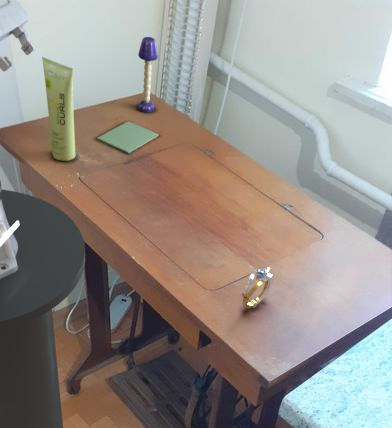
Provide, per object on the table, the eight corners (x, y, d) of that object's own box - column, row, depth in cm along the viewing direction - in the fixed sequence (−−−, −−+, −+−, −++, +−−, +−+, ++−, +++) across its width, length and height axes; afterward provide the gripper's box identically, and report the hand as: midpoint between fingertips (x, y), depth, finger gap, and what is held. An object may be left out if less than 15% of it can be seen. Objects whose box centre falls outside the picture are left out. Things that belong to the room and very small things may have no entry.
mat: (128, 153, 123) (128, 152, 122) (97, 139, 125) (97, 137, 125) (158, 135, 130) (158, 134, 130) (128, 122, 133) (128, 121, 132)
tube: (49, 161, 116) (41, 66, 102) (49, 149, 119) (42, 55, 105) (76, 162, 117) (72, 68, 103) (75, 150, 121) (71, 57, 106)
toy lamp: (152, 114, 137) (157, 43, 125) (134, 111, 137) (137, 40, 124) (155, 106, 140) (160, 36, 128) (137, 103, 140) (141, 33, 128)
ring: (259, 293, 96) (270, 258, 90) (272, 303, 95) (284, 268, 89) (232, 308, 93) (240, 272, 87) (244, 319, 91) (254, 284, 86)
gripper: (-16, -11, 108) (34, 52, 115) (-76, 18, 94) (-16, 88, 101) (2, -33, 105) (53, 34, 111) (-59, -6, 91) (3, 68, 97)
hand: (20, 60), depth 106 cm, fingers open, 8 cm apart
